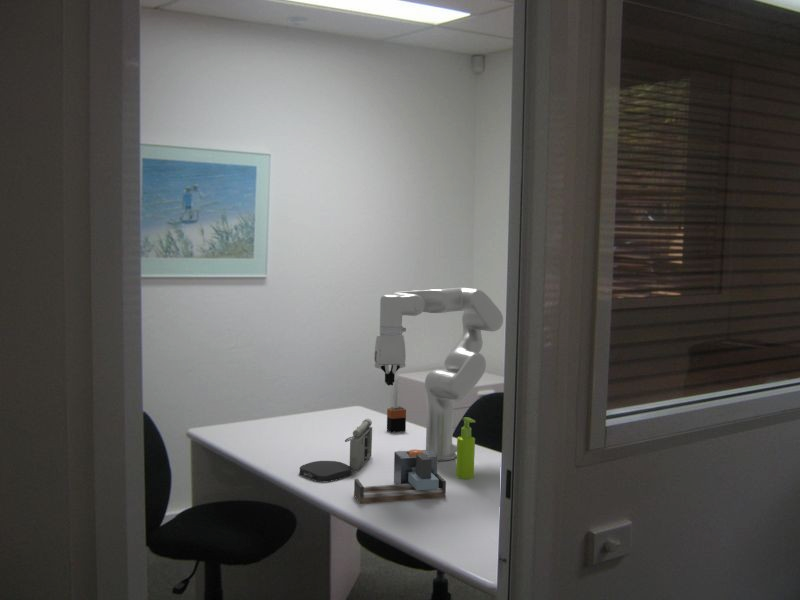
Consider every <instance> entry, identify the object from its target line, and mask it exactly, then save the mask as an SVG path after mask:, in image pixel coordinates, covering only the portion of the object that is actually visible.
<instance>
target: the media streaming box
mask: <svg viewBox="0 0 800 600" xmlns="http://www.w3.org/2000/svg"><path fill="white" fill-rule="evenodd" d="M352 472H353V471H352V468H351V467H350V465H348V464H346V463H344V462H341V461H336V460H316V461H312V462H311V461H310V462H308V463H304V464H302V465H301V466H300V467H299V475H301V476H303V477H304V478H307V479H310V480H312V479H313V481H315V480H316V482H320V481H322V482H321V483H324V482H323V481H328V482H332V481H331V480H333V481H337V480H340V478H341V479H344V477H345V478H349V477H350V476H352V474H353V473H352ZM336 479H337V480H336Z"/></svg>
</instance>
